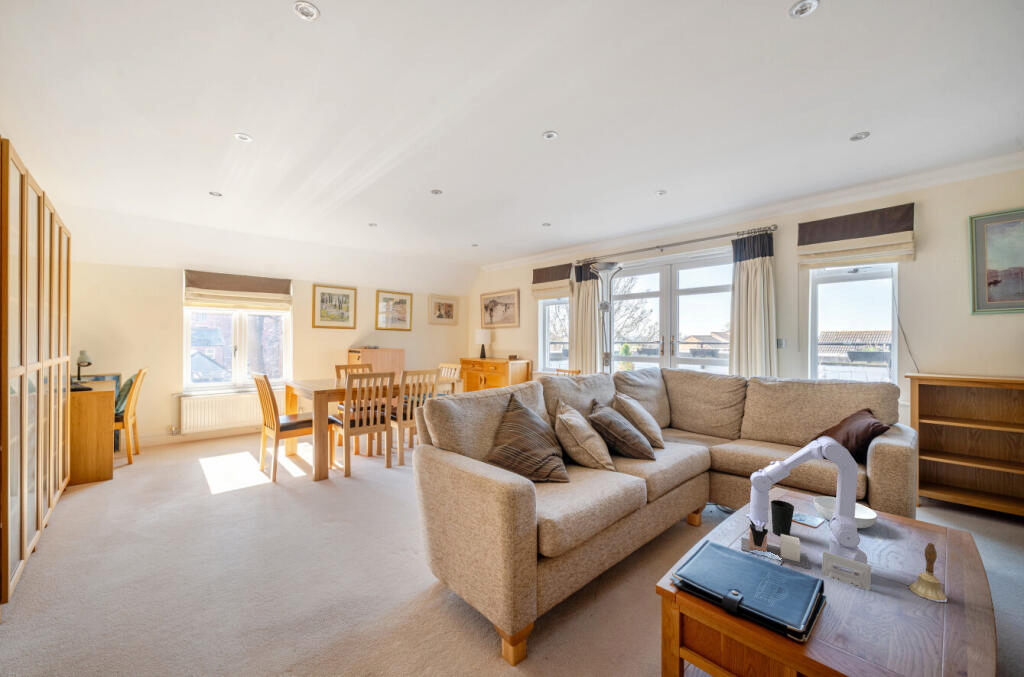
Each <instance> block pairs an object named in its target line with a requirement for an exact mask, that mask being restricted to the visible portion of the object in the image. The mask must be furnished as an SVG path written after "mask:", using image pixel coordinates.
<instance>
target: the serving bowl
mask: <svg viewBox="0 0 1024 677" xmlns="http://www.w3.org/2000/svg"><path fill="white" fill-rule="evenodd" d="M813 505H814V508H815V510H816V511H817V512H818V513H819V515H820V516H822V517H823V518H824V519H826V520H828V521H830V520H831V519H832V517H833V513H834V512H835V510H836V497H834V496H827V495H826V496H825V495H824V496H823V495H822V496H815V497H814V498H813ZM877 518H878V514H877V513H876V511H874V510H873V509H871V508H869V507H867V506H865V505H863V504H860V503H858V502H856V506H855V521H856V524H857V529H866V528H867V529H868V528H870V527H872V526H873V525H874V524H875V523H876V522H877Z"/></svg>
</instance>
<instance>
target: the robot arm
mask: <svg viewBox="0 0 1024 677" xmlns="http://www.w3.org/2000/svg"><path fill="white" fill-rule="evenodd" d="M824 458H826V460H829V461H831V462H833V463H834V464H835V465H837V469H838V470H837V482H836V483H837V485H836V497H835V498H836V510H835V512H834V513H833V517H832V519H831V520H829V521H828V522H829V523H828V528H829V530H830V531H831V535H830V536H829V549H828V553H831V554H835V555H838V556H841V557H844V558H847V559H851V560H854V561H857V562H860V563H864V564H867V565H868V556H867V553H866V552H864V551H863V550H861V549H860V548H859V547H858V546H859V544H860V542H861V537H860V535H859V533H858V528H857V524H856V521H855V506H856V503H857V502H856V501H857V492H858V491H857V490H858V474H859V465H858V462H856V460H855V458H854V457H853V456H852V455H851V453H850V451H849V450H848V449H847V448H846V447H845V446H843V445H842V444H841V443H840V442H838V441H837V440H835V439H834V438H833V437H831V436H827V435H823V436H820V437H818V438H817V439H815V440H812V441H810V442H809V443H808V444H806V446H804V447H802V448H801V449H800V450H798V451H796V452H795V453H794V454H792V455H790V456H789V457H787V458H785V460H776V461H774V460H772V461H770V462H769V465H768V466H766V467H763V469H762V468H759V469H758V471H754V472H753V473H752V474H751V475H750V477H749V480H750V482H751V487H750V489H751V490H750V499H749V500H750V502H749V513H746V514H745V517H746V518H748V519H749V521H750V523H749V526H750V529H751V531H752V534H753V540H754V545H755V546H759V547H761V546H762V543H763V540H764V537H765V535H766V534H767V535H768V532H769V529H768V528H765V527H766V525H767V524H768V523H769V504H770V503H769V502H770V501H769V500H770V494H769V493H770V492H769V491H770V490H771V489H772V486H773V485H775V484H776V483H778V482H780V481H781V480H784V479H785V478H787V477H788V476H790V475H791V470H794V469H795V468H796V467H799V466H800V465H803V464H804V463H806V462H808V461H810V460H813V459H814V460H820V461H823V460H824ZM834 566H835V567H838V566H837V565H834ZM840 569H843V570H846V571H849V572H852V570H850V569H847V568H844V567H841V566H840ZM855 573H856V574H858V572H855Z"/></svg>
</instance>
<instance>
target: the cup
mask: <svg viewBox="0 0 1024 677" xmlns="http://www.w3.org/2000/svg"><path fill="white" fill-rule="evenodd" d="M770 508H771V509H770V510H771V525H772V526H771V527H772V528H771V529H772V533H773V535H776V536H778V537H779V538H780V537H781V534H784V535H788V536H791V534H790V533H791V530H792V525H793V517H794V513H795V506H794V505H793V504H792V503H790V502H787V501H785V500H779V499H773V500H771V501H770Z"/></svg>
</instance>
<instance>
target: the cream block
mask: <svg viewBox="0 0 1024 677" xmlns="http://www.w3.org/2000/svg"><path fill="white" fill-rule="evenodd" d="M779 539H780V542H779V547H780V554H781V557H783V558H787V559H790V560H794V561H798V562H800V553H801V541H800V538H799V537H796V536H792V535H790V536H788V535H784V534H781V537H780V536H779Z"/></svg>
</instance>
